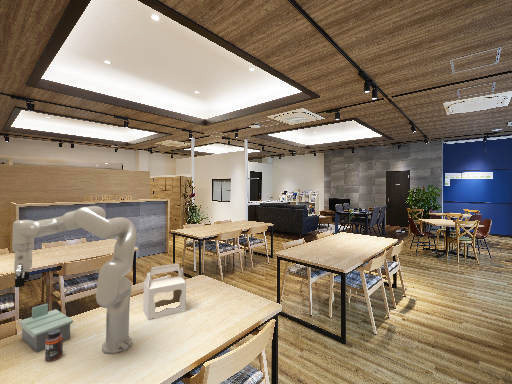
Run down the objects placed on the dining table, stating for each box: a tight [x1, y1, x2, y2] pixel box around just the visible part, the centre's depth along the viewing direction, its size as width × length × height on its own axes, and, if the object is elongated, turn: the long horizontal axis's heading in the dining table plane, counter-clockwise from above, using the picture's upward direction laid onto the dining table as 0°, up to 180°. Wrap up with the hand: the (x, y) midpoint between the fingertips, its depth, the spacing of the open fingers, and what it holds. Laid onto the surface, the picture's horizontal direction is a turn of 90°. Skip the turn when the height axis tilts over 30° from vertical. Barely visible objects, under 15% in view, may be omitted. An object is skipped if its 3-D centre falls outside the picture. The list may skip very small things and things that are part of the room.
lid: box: [18, 303, 74, 338], centre depth 125 cm, size 20×15×7 cm
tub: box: [21, 324, 71, 354], centre depth 125 cm, size 18×13×8 cm
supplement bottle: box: [44, 329, 64, 362], centre depth 112 cm, size 6×6×11 cm
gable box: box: [142, 262, 187, 321], centre depth 156 cm, size 22×13×28 cm, turn 124°
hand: (22, 283), depth 120 cm, fingers open, 9 cm apart
